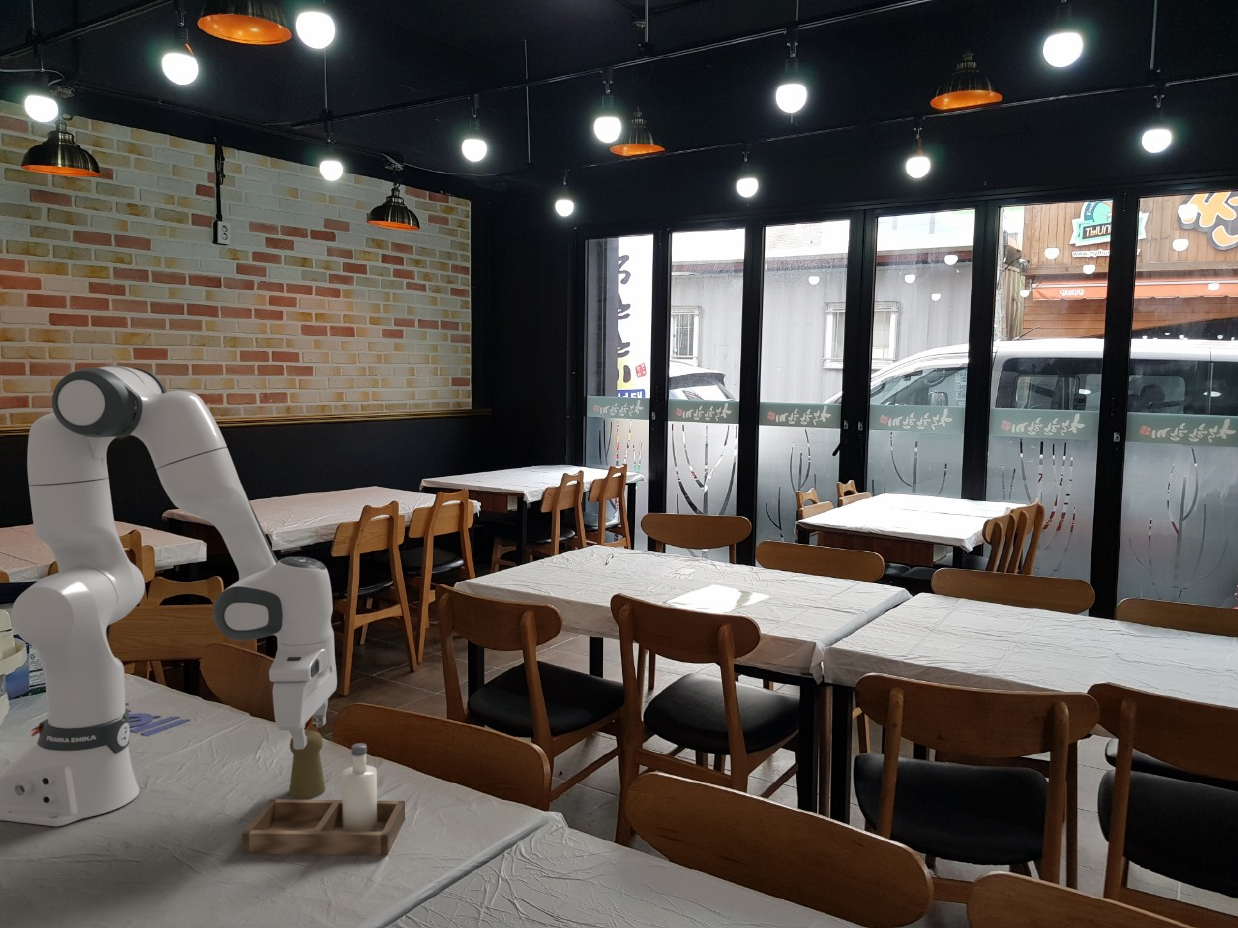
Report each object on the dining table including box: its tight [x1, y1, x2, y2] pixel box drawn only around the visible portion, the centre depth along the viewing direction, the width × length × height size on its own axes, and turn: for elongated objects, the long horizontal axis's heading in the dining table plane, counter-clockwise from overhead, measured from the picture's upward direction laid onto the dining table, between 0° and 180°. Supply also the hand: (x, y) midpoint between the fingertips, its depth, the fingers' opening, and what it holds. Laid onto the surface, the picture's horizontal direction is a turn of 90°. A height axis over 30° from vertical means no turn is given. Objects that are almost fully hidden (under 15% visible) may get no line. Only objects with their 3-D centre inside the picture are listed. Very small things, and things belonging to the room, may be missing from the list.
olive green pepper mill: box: [288, 730, 326, 800], centre depth 154 cm, size 6×6×11 cm
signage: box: [125, 702, 191, 737], centre depth 190 cm, size 28×1×10 cm
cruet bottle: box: [341, 742, 378, 832], centre depth 138 cm, size 5×5×14 cm
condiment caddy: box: [241, 798, 406, 856], centre depth 139 cm, size 21×11×4 cm, turn 90°
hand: (310, 736), depth 153 cm, fingers open, 8 cm apart
